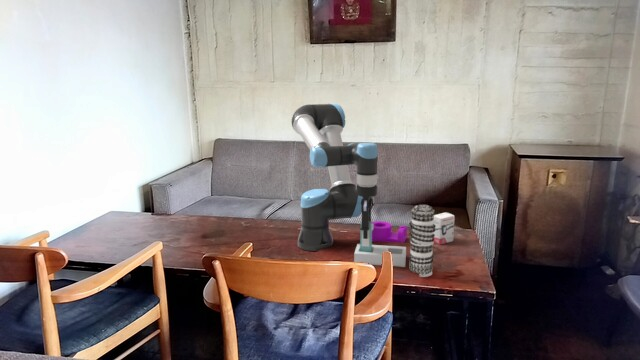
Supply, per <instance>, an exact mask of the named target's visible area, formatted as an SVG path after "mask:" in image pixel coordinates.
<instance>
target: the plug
mask: <svg viewBox="0 0 640 360" xmlns="http://www.w3.org/2000/svg"><path fill="white" fill-rule="evenodd" d="M372 222H373V221H372V220H371V221H369V247H368V246H362V230H360V233H359V235H360V241H359V244H360V251H361V252H372V245H373V241H372V230H373V224H372ZM360 228H362V221H361V222H360Z"/></svg>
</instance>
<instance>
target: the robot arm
mask: <svg viewBox="0 0 640 360" xmlns="http://www.w3.org/2000/svg"><path fill="white" fill-rule="evenodd" d="M291 126H292V129H293V130H294V131H295V133H296V134H298V135H299V136H300V137H301V138H302V140H303V141H304V144H305V145H306V146H307V148H308V149H309V161H310V165H311V166H312V167H313V168H325V167H327V169H328V174H329V179H330V183H331V186H330V188H329V190H328V189H327V188H314V189H311V190H310V189H309V190H307V191H305V192H304V193H303V194H302V195H301V197H300V218H301V219H300V220H301V222H300V223H301V224H300V225H301V227H300V232H299V234H298V236H297V237H298V238H297V247H299V248H300V249H301V250H304V251H309V252H310V251H311V252H319V250H322V249H327V248H330V247H331V246H333V244H334V237H333V234H332V232H331V229H330V221H334V220H342V219H352V218H357V217H359V216H361V222H362V228H361V227H360V231H361V230H362V246H368V247H369V221H371V222H372V206H373V199H372V197H376V196H377V194H378V185H377V184H378V179H379V178H380V177H379V176H378V161H379V160H378V159H379V152H378V145H377V144H376V143H375V142H374V143H373V142H360V143H349V144H347V145H344V144H343V139H342V132H343V131H344V128H345V126H346V115H345V112H344V109H343V107H342V106H341V105H340V104H337V103H319V104H310V103H309V104H304V105H302V106H299V108H298V109H296V110H295V111H294V112H293V114H292V117H291ZM351 165H355V166H356V184H357V185H356V184H355V183H354V182H352V179H351V176H350V171H349V167H348V166H351Z"/></svg>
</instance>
